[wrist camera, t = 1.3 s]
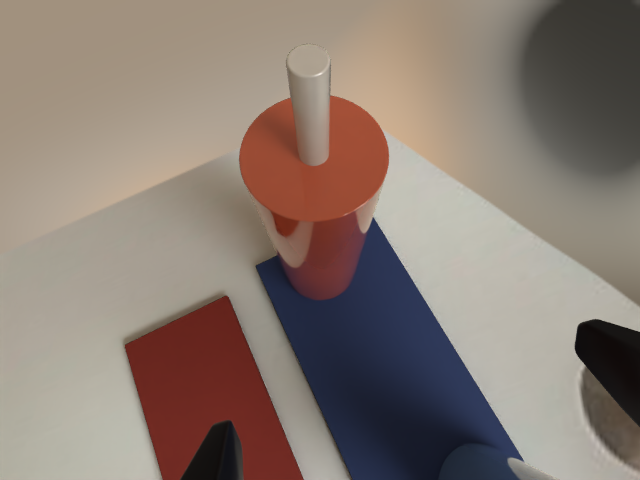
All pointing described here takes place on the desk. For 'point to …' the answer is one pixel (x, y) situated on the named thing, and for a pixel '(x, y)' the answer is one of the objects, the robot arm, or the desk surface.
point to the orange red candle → (315, 176)
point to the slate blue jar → (487, 465)
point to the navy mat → (384, 370)
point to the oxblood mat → (207, 393)
